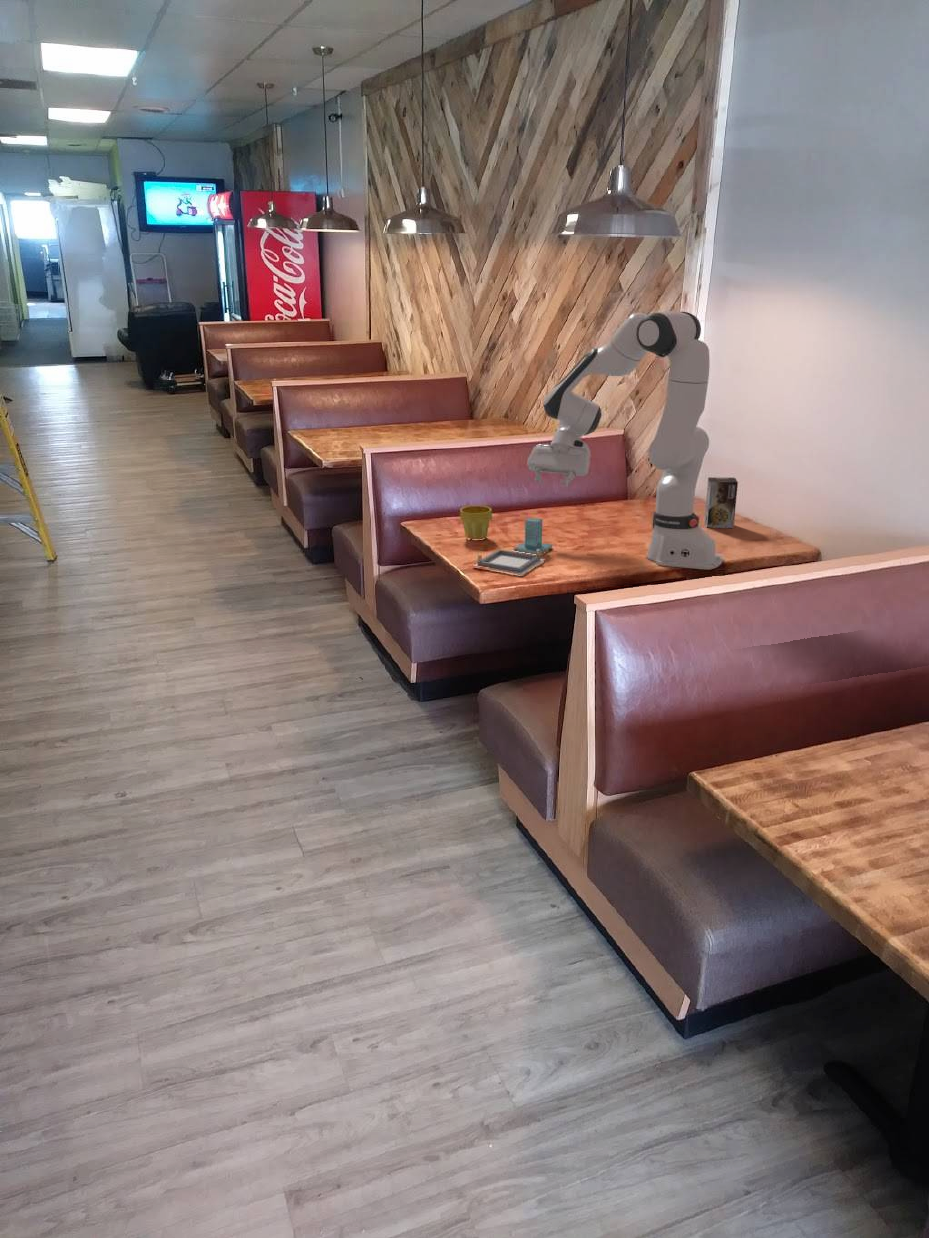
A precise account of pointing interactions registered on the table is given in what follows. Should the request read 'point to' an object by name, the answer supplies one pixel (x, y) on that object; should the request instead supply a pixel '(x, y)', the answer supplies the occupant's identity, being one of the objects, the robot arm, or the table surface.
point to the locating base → (510, 561)
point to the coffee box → (721, 502)
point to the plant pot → (476, 521)
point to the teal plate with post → (533, 537)
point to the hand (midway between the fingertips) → (550, 483)
